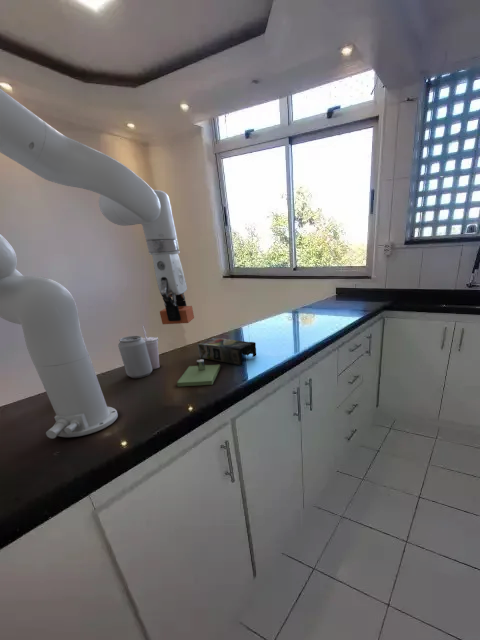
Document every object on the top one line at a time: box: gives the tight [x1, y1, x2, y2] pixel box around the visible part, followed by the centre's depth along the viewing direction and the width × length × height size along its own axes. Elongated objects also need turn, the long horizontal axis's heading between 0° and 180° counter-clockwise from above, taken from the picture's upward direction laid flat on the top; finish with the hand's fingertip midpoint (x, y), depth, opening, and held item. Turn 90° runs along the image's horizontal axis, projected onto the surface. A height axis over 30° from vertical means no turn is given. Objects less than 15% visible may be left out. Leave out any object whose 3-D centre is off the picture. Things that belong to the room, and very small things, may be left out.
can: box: [117, 335, 153, 379], centre depth 96 cm, size 8×8×12 cm
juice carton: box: [197, 337, 257, 366], centre depth 110 cm, size 20×10×6 cm, turn 62°
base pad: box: [176, 358, 221, 387], centre depth 95 cm, size 14×10×4 cm
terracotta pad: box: [159, 305, 195, 325], centre depth 87 cm, size 7×7×4 cm
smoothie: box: [141, 325, 160, 370], centre depth 102 cm, size 6×6×14 cm
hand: (178, 317), depth 88 cm, fingers closed on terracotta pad, 7 cm apart
